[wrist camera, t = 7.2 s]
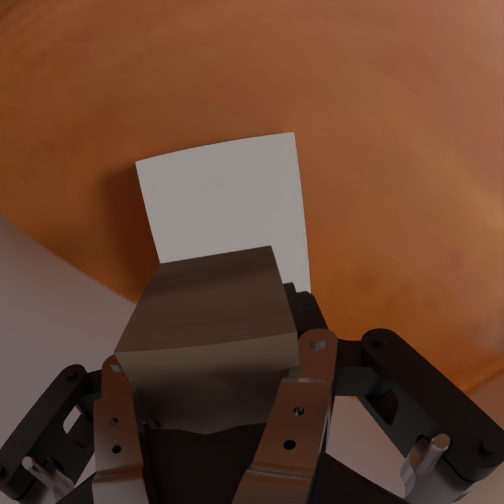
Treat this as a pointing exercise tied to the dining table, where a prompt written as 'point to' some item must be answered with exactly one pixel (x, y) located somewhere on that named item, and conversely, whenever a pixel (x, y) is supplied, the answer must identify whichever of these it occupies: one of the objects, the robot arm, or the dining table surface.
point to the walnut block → (211, 341)
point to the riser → (229, 202)
